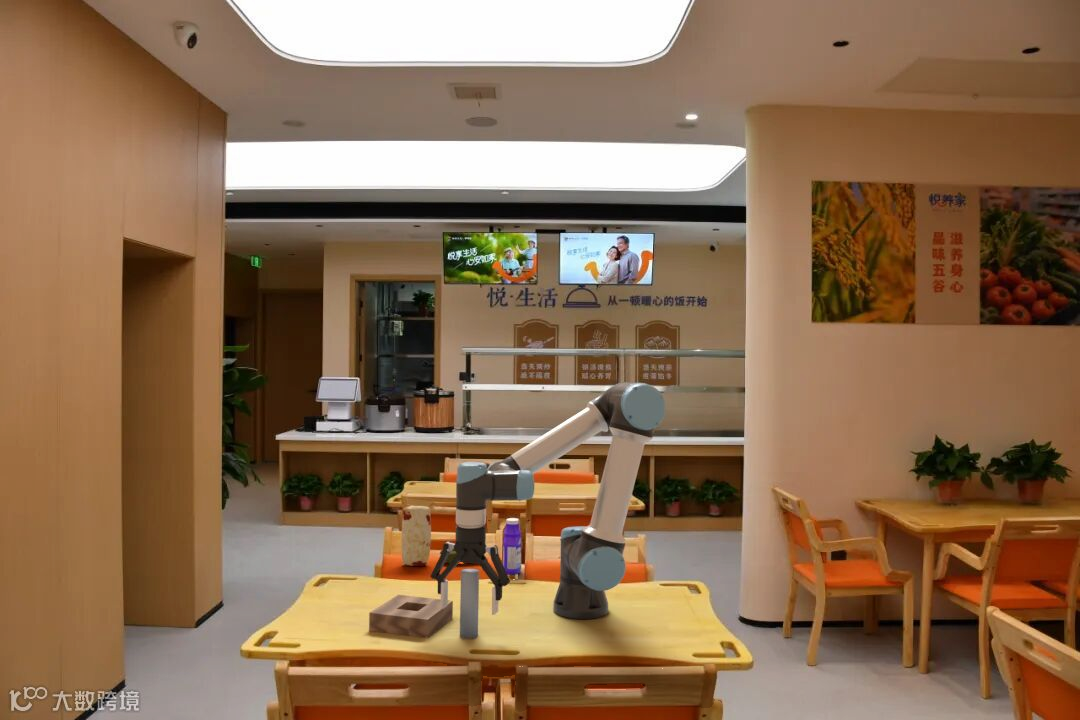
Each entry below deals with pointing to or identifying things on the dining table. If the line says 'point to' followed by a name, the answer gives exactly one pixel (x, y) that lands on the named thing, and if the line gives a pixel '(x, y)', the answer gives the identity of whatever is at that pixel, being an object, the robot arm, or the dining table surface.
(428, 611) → the socket block
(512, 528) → the bottle
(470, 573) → the peg
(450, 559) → the fruit
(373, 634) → the dining table surface
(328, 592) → the dining table surface
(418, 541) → the food model
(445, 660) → the dining table surface
